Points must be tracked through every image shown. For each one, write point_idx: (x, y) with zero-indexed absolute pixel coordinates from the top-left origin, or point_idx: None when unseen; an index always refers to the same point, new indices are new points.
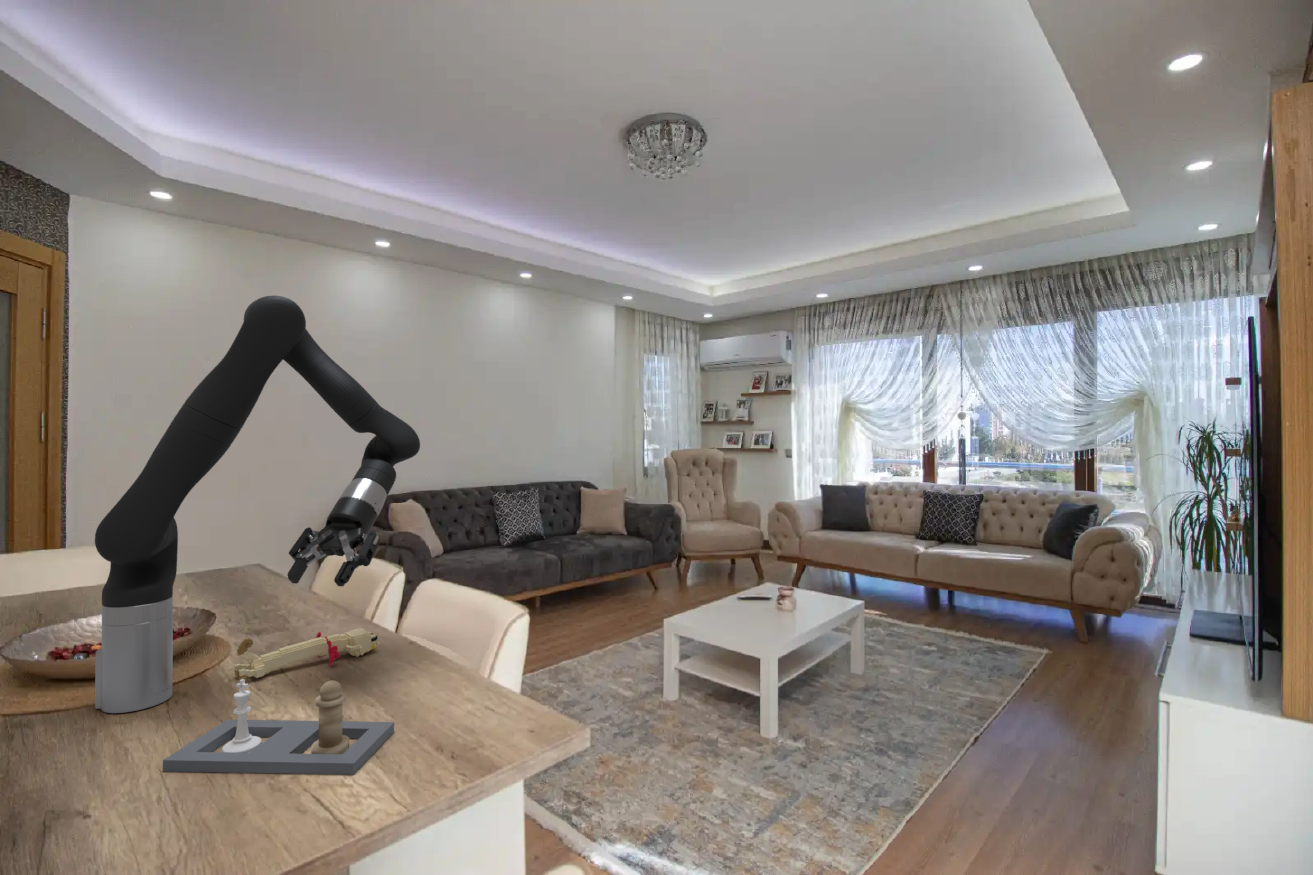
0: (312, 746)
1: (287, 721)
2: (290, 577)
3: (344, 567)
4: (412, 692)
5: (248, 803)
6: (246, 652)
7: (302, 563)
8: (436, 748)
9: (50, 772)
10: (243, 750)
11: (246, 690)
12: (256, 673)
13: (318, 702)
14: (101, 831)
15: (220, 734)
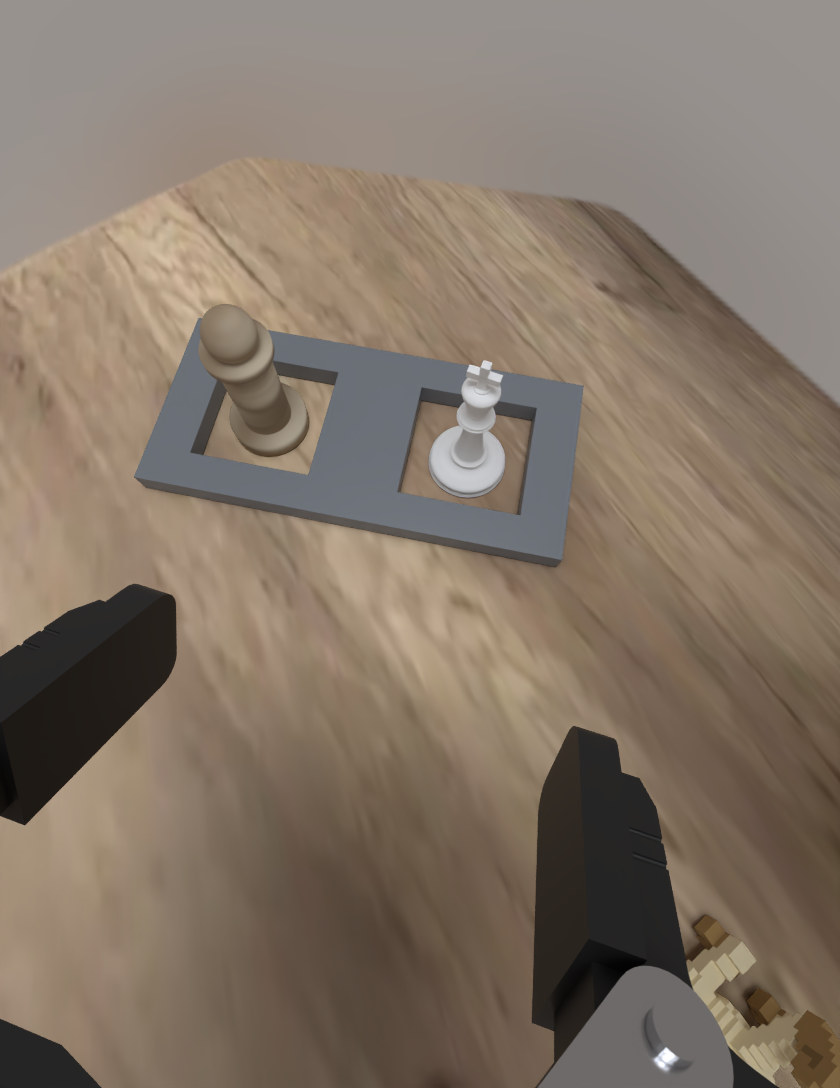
0: (301, 403)
1: (400, 522)
2: (585, 730)
3: (29, 660)
4: (110, 741)
5: (362, 281)
6: (789, 1034)
7: (568, 927)
8: (52, 401)
9: (799, 430)
10: (450, 428)
11: (476, 398)
12: (686, 962)
13: (259, 322)
14: (549, 250)
15: (530, 478)
